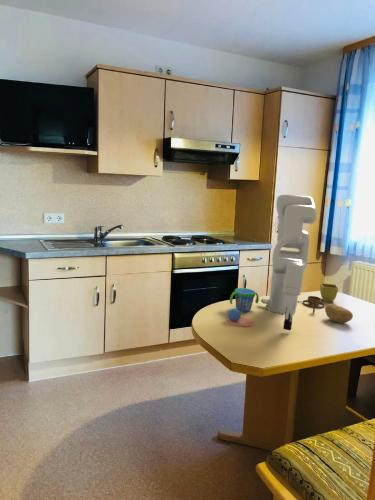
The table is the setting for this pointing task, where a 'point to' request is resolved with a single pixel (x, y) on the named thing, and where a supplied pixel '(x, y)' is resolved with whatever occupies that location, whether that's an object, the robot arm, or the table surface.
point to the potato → (338, 313)
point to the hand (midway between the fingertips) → (287, 329)
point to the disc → (241, 322)
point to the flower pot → (328, 291)
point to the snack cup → (244, 298)
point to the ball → (234, 315)
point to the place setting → (313, 302)
